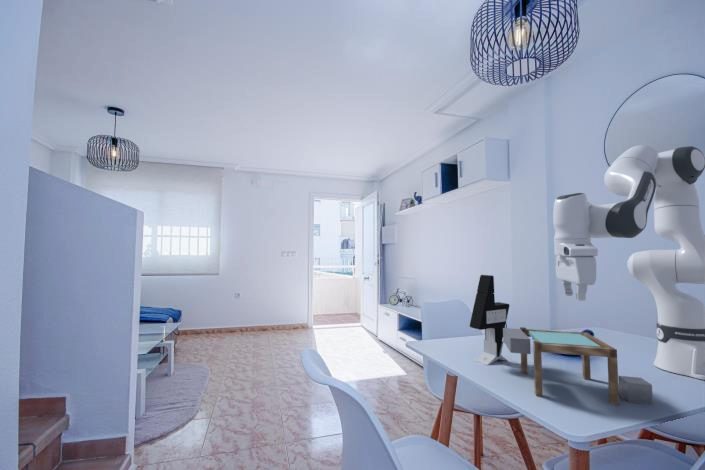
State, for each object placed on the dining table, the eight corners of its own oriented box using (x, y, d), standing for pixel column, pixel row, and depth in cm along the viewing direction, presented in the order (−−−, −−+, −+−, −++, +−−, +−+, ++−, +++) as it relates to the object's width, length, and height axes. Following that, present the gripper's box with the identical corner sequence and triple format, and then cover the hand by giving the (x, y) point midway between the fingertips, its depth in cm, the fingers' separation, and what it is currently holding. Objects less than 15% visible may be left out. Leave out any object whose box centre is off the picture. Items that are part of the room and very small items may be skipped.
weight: (641, 397, 86) (640, 377, 87) (652, 405, 82) (651, 384, 82) (619, 394, 88) (618, 375, 88) (628, 402, 83) (627, 382, 83)
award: (481, 366, 109) (479, 276, 111) (469, 361, 114) (467, 275, 116) (511, 359, 116) (509, 274, 118) (499, 355, 121) (497, 274, 123)
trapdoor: (580, 345, 98) (580, 332, 99) (601, 360, 85) (601, 344, 85) (502, 340, 104) (502, 327, 105) (511, 353, 91) (510, 338, 91)
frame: (588, 377, 99) (586, 331, 100) (619, 404, 82) (616, 347, 82) (521, 371, 104) (520, 327, 105) (536, 395, 87) (534, 342, 88)
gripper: (549, 249, 105) (550, 292, 104) (572, 249, 85) (574, 303, 85) (571, 249, 103) (573, 293, 103) (600, 249, 84) (603, 303, 83)
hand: (574, 297), depth 94 cm, fingers open, 8 cm apart
